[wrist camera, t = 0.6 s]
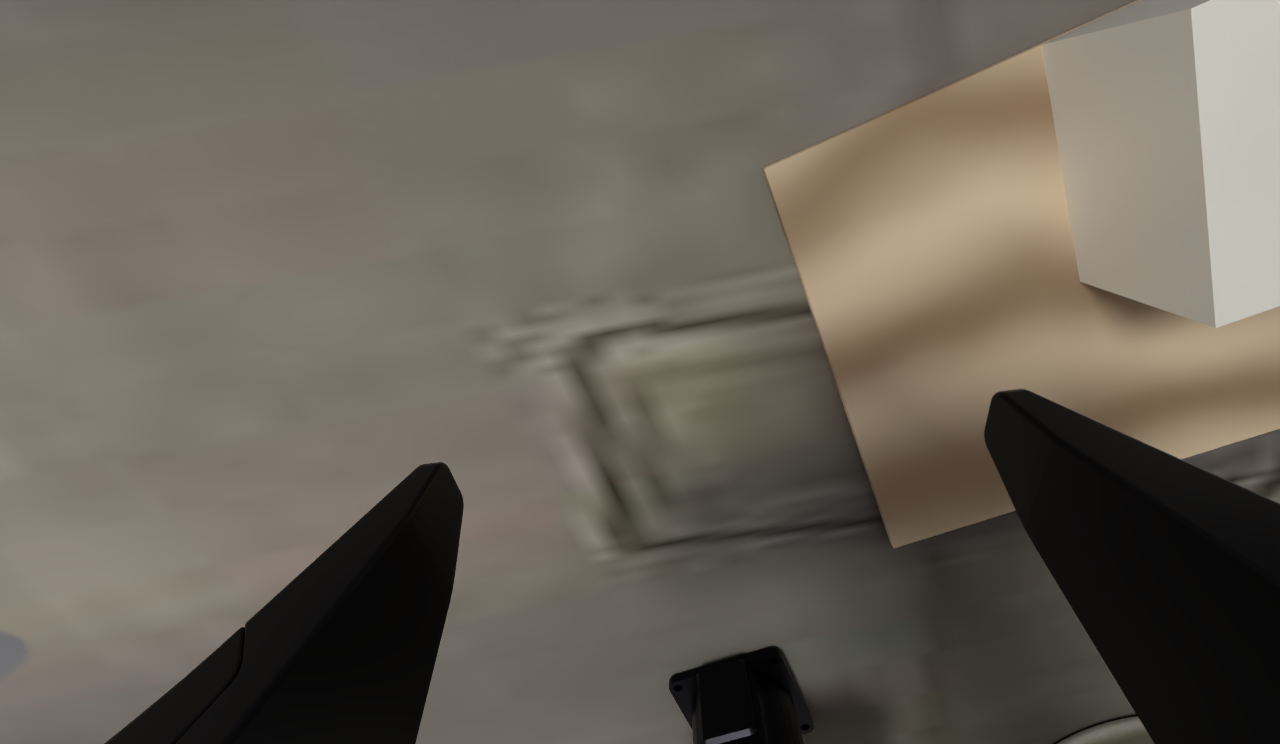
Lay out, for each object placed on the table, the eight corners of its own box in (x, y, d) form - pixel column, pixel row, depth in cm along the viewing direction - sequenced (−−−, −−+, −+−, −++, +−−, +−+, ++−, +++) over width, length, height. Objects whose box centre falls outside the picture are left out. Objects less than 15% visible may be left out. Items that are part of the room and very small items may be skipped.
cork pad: (1323, 405, 25) (1336, 411, 25) (889, 541, 28) (893, 548, 28) (1320, -83, 19) (1337, -88, 18) (761, 168, 22) (764, 168, 22)
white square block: (1337, 185, 21) (1577, 203, 16) (1079, 281, 23) (1216, 327, 17) (1337, -88, 18) (1636, -188, 13) (1041, 44, 20) (1190, 8, 14)
